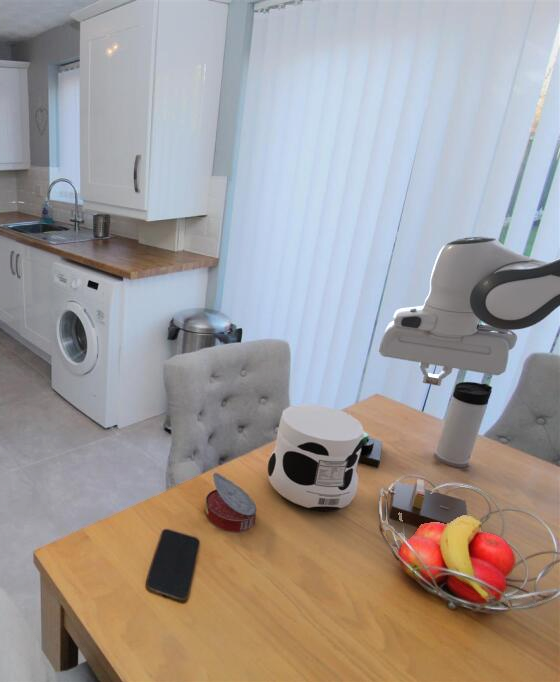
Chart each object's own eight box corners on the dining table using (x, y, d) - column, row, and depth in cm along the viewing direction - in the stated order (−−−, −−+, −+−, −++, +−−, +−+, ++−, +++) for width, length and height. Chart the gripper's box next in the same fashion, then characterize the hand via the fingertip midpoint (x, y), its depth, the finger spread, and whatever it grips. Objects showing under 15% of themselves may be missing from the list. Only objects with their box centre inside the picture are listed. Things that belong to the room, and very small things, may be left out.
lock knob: (413, 490, 101) (416, 477, 100) (421, 492, 100) (425, 480, 99) (412, 506, 97) (416, 493, 96) (421, 509, 96) (425, 496, 95)
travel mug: (475, 467, 112) (501, 391, 105) (447, 468, 112) (471, 392, 105) (455, 452, 118) (478, 379, 111) (427, 453, 118) (449, 380, 111)
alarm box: (380, 448, 121) (384, 434, 119) (377, 468, 113) (381, 454, 112) (335, 436, 126) (338, 423, 125) (329, 455, 119) (332, 441, 117)
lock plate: (461, 512, 99) (465, 499, 98) (464, 542, 91) (469, 529, 90) (385, 489, 106) (388, 477, 105) (382, 516, 99) (385, 503, 98)
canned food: (217, 515, 107) (230, 472, 107) (259, 537, 99) (273, 491, 99) (187, 514, 100) (201, 469, 100) (230, 538, 92) (245, 489, 92)
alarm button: (367, 438, 119) (369, 432, 118) (366, 444, 116) (367, 438, 116) (350, 433, 121) (352, 427, 120) (349, 440, 118) (350, 434, 118)
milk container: (293, 459, 118) (304, 394, 111) (368, 497, 104) (387, 425, 98) (249, 486, 109) (259, 416, 103) (325, 531, 95) (342, 454, 89)
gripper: (517, 324, 91) (496, 389, 96) (387, 308, 102) (374, 367, 107) (522, 334, 86) (499, 402, 91) (386, 316, 98) (372, 378, 103)
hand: (431, 383), depth 99 cm, fingers closed
